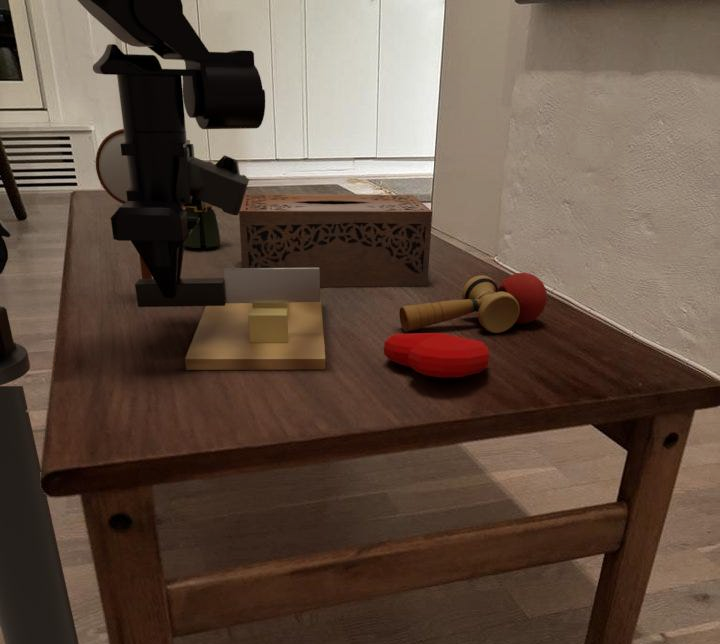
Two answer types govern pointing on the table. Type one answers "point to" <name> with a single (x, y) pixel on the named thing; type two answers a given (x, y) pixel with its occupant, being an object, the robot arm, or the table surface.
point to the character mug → (203, 226)
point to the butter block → (271, 305)
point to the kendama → (484, 304)
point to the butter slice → (268, 325)
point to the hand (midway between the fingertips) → (171, 294)
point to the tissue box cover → (339, 237)
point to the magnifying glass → (115, 174)
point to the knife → (237, 288)
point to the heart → (438, 354)
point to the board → (235, 352)
